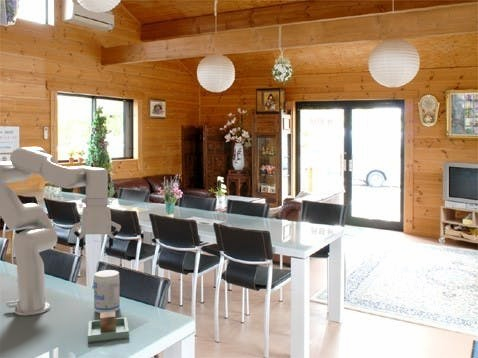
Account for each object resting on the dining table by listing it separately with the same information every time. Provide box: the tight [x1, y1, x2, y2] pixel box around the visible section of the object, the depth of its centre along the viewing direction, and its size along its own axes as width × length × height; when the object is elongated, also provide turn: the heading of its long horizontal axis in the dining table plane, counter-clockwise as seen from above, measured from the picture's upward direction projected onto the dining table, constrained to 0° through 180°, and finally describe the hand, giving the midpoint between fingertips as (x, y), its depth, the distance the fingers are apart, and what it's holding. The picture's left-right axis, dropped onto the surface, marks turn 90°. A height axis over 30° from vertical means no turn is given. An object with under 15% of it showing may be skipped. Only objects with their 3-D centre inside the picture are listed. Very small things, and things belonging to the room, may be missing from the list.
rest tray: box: [87, 316, 130, 344], centre depth 162 cm, size 13×13×3 cm
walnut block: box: [99, 311, 117, 333], centre depth 162 cm, size 5×5×6 cm
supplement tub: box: [93, 269, 121, 314], centre depth 184 cm, size 10×10×15 cm
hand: (96, 248), depth 172 cm, fingers open, 9 cm apart
